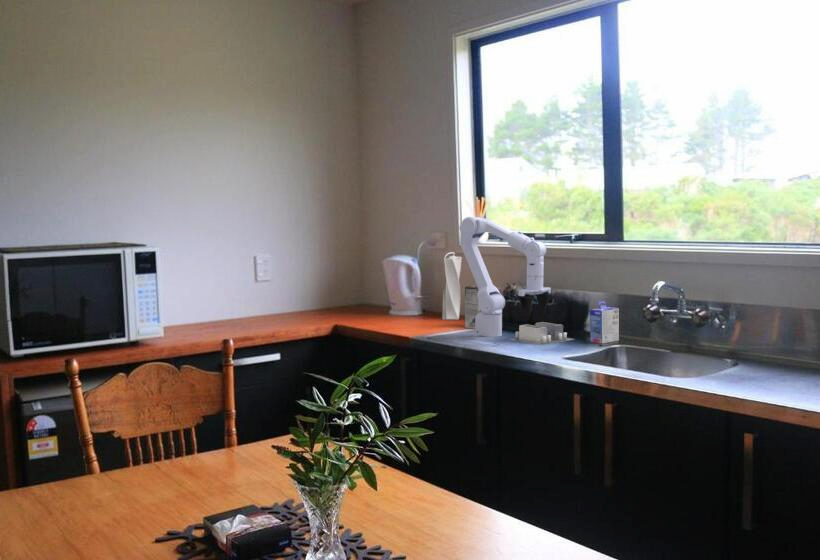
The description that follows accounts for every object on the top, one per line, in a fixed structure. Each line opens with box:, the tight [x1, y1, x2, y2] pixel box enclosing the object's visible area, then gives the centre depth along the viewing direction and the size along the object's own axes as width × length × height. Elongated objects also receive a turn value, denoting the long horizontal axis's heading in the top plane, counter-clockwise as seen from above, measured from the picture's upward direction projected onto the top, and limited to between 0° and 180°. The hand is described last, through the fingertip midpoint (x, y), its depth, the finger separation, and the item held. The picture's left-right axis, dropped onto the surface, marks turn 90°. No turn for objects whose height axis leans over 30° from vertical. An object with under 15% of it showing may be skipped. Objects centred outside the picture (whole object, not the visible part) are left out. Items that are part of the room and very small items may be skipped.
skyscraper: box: [441, 251, 463, 321], centre depth 332 cm, size 8×8×28 cm
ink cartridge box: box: [589, 300, 620, 347], centre depth 271 cm, size 10×6×14 cm, turn 130°
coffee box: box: [464, 284, 482, 330], centre depth 309 cm, size 9×6×16 cm
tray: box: [507, 331, 576, 346], centre depth 275 cm, size 15×18×4 cm
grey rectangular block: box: [518, 323, 547, 343], centre depth 271 cm, size 9×4×5 cm, turn 40°
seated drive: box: [534, 321, 564, 340], centre depth 277 cm, size 9×4×5 cm, turn 40°
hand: (534, 315), depth 274 cm, fingers open, 7 cm apart
